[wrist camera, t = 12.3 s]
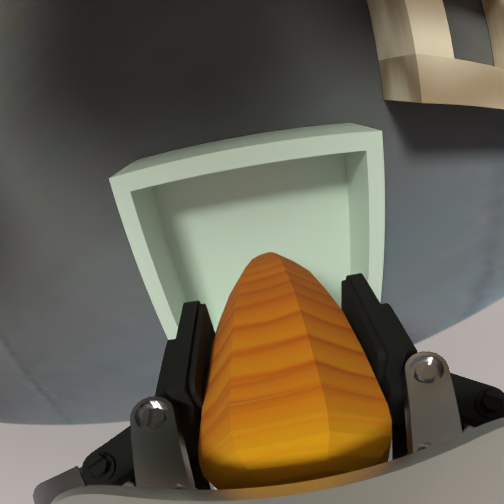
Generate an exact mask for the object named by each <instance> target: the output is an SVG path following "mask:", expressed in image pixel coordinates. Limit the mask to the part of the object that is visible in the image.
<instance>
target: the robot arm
mask: <svg viewBox="0 0 504 504" xmlns="http://www.w3.org/2000/svg"><path fill="white" fill-rule="evenodd" d="M341 309H342V311H343V313H344V314H345V316H346V318H347V320H348V322H349V324H350V326H351V328H352V330H353V331H354V333H355V335H356V337H357V339H358V341H359V343H360V345H361V347H362V349H363V351H364V353H365V355H366V357H367V359H368V361H369V364H370V366H371V368H372V370H373V372H374V375H375V377H376V379H377V381H378V384H379V386H380V388H381V390H382V393H383V395H384V397H385V400H386V402H387V404H388V408H389V411H390V415H391V419H392V440H391V446H390V453H389V461H388V462H385V463H382V464H378V465H375V466H371V467H368V468H364V469H360V470H356V471H352V472H348V473H344V474H340V475H335V476H331V477H326V478H321V479H316V480H310V481H304V482H298V483H291V484H284V485H276V486H267V487H256V488H244V489H225V490H214V486H213V485H212V484H211V483H210V482H209V481H208V480H207V479H206V478H205V477H204V476H203V474H202V471H201V467H200V464H199V457H198V443H199V434H200V424H201V415H202V406H203V400H204V390H205V382H206V376H207V369H208V363H209V357H210V351H211V345H212V342H213V339H214V336H215V331H214V328H213V325H212V322H211V318H210V315H209V312H208V309H207V306H206V304H201V303H200V301H199V300H198V301H191V302H185V303H184V304H183V307H182V312H181V316H180V321H179V325H178V330H177V335H176V339H170V340H168V341H167V344H166V348H165V353H164V357H163V361H162V366H161V370H160V375H159V380H158V384H157V389H156V394H155V396H153V397H148V398H145V399H143V400H141V401H140V402H138V403H137V404H136V405H135V407H134V408H133V410H132V412H131V415H130V426H129V427H128V428H126V429H125V430H123V431H122V432H121V433H119V434H118V435H116V436H115V437H114V438H112V439H111V440H110V441H109V442H107V443H105V444H104V445H102V446H101V447H99V448H98V449H97V450H95V451H94V452H92V453H91V454H90V455H89V456H87V458H86V459H85V461H84V462H83V466H82V467H81V468H79V467H78V466H76V467H74V468H72V469H70V470H68V471H66V472H64V473H61V474H59V475H57V476H55V477H53V478H51V479H49V480H47V481H44V482H42V483H40V484H39V485H38V486H37V487H36V488H35V490H34V494H33V498H34V502H35V504H504V393H503V392H502V391H501V390H500V389H498V388H496V387H493V386H489V385H487V384H483V383H480V382H477V381H474V380H470V379H468V378H465V377H461V376H458V375H455V374H452V373H450V371H449V367H448V365H447V363H446V361H445V360H444V359H443V358H442V357H441V356H439V355H438V354H436V353H433V352H419V353H418V352H417V350H416V348H415V346H414V345H413V343H412V341H411V340H410V338H409V336H408V334H407V333H406V331H405V329H404V328H403V326H402V324H401V323H400V321H399V319H398V318H397V316H396V314H395V313H394V311H393V309H392V308H391V306H390V305H389V304H387V303H386V304H380V302H379V300H378V299H377V297H376V295H375V294H374V292H373V290H372V289H371V287H370V285H369V284H368V282H367V280H366V279H365V277H364V276H363V274H362V273H358V274H353V275H347V276H346V280H342V282H341Z"/></svg>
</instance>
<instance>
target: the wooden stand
mask: <svg viewBox="0 0 504 504" xmlns="http://www.w3.org/2000/svg"><path fill="white" fill-rule="evenodd" d="M366 1H367V5H368V9H369V13H370V18H371V23H372V27H373V32H374V38H375V43H376V49H377V54H378V61H379V67H380V74H381V81H382V89H383V97H384V100H394V101H406V102H417V103H436V104H455V105H468V106H479V107H489V108H497V109H504V0H481V1H482V5H483V9H484V13H485V17H486V21H487V26H488V30H489V35H490V41H491V46H492V53H493V59H494V66H489V65H485V64H480V63H475V62H470V61H465V60H459V59H454V54H453V47H452V42H451V36H450V31H449V26H448V21H447V17H446V13H445V8H444V4H443V0H366Z"/></svg>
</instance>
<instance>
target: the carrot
mask: <svg viewBox="0 0 504 504" xmlns="http://www.w3.org/2000/svg"><path fill="white" fill-rule="evenodd" d="M391 440H392V419H391V415H390V411H389V408H388V404H387V402H386V400H385V397H384V395H383V393H382V390H381V388H380V386H379V384H378V381H377V379H376V377H375V375H374V372H373V370H372V368H371V366H370V364H369V361H368V359H367V357H366V355H365V353H364V351H363V349H362V347H361V345H360V343H359V341H358V339H357V337H356V335H355V333H354V331H353V330H352V328H351V326H350V324H349V322H348V320H347V318H346V316H345V314H344V313H343V311H342V309H341V308H340V307H339V305H338V304H337V303H336V302H335V300H334V299H333V298H332V296H331V295H330V294H329V293H328V291H327V290H326V289H325V288H324V286H323V285H322V284H321V283H320V282H319V281H318V280H317V279H316V278H315V277H314V275H313V274H312V273H311V272H310V271H309V270H307V269H305V268H304V267H302V266H301V265H299V264H297V263H296V262H294V261H292V260H290V259H288V258H285V257H283V256H281V255H279V254H276V253H274V252H267V253H264V254H261V255H259V256H257V257H255V258H253V259H252V260H251V261H250V262H249V264H248V265H247V266H246V267H245V269H244V271H243V272H242V274H241V276H240V278H239V279H238V281H237V283H236V284H235V286H234V288H233V290H232V291H231V293H230V295H229V298H228V300H227V303H226V305H225V308H224V310H223V313H222V315H221V318H220V321H219V324H218V327H217V330H216V333H215V336H214V339H213V342H212V345H211V351H210V357H209V363H208V369H207V376H206V382H205V390H204V400H203V406H202V415H201V424H200V434H199V443H198V457H199V464H200V467H201V471H202V474H203V476H204V477H205V478H206V479H207V480H208V481H209V482H210V483H211V484H212V485H213V486H214V487H216V488H217V489H218V490H225V489H244V488H256V487H267V486H276V485H284V484H291V483H298V482H304V481H310V480H316V479H321V478H326V477H331V476H335V475H340V474H344V473H348V472H352V471H356V470H360V469H364V468H368V467H371V466H375V465H378V464H382V463H385V462H388V459H389V453H390V446H391Z"/></svg>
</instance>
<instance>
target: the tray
mask: <svg viewBox="0 0 504 504" xmlns="http://www.w3.org/2000/svg"><path fill="white" fill-rule="evenodd" d="M109 181H110V184H111V187H112V191H113V194H114V197H115V201H116V204H117V207H118V210H119V213H120V216H121V219H122V222H123V225H124V228H125V231H126V234H127V237H128V240H129V243H130V246H131V249H132V251H133V254H134V257H135V260H136V262H137V265H138V268H139V270H140V273H141V275H142V278H143V281H144V283H145V286H146V288H147V291H148V293H149V296H150V298H151V301H152V303H153V305H154V308H155V310H156V313H157V315H158V317H159V320H160V322H161V324H162V326H163V329H164V331H165V333H166V335H167V338H168V340H170V339H176V335H177V330H178V325H179V321H180V316H181V312H182V307H183V304H184V303H185V302H191V301H198V300H199V301H200V303H201V304H206V306H207V309H208V312H209V315H210V318H211V322H212V325H213V328H214V331H215V333H216V330H217V327H218V324H219V321H220V318H221V315H222V313H223V310H224V308H225V305H226V303H227V300H228V298H229V295H230V293H231V291H232V290H233V288H234V286H235V284H236V283H237V281H238V279H239V278H240V276H241V274H242V272H243V271H244V269H245V267H246V266H247V265H248V264H249V262H250V261H251V260H252V259H253V258H255V257H257V256H259V255H261V254H264V253H267V252H274V253H276V254H279V255H281V256H283V257H285V258H288V259H290V260H292V261H294V262H296V263H297V264H299V265H301V266H302V267H304V268H305V269H307V270H309V271H310V272H311V273H312V274H313V275H314V277H315V278H316V279H317V280H318V281H319V282H320V283H321V284H322V285H323V286H324V288H325V289H326V290H327V291H328V293H329V294H330V295H331V296H332V298H333V299H334V300H335V302H336V303H337V304H338V305H339V307H340V308H341V282H342V280H346V276H347V275H353V274H358V273H362V274H363V276H364V277H365V279H366V280H367V282H368V284H369V285H370V287H371V289H372V290H373V292H374V294H375V295H376V297H377V299H378V300H379V302H381V290H382V277H383V260H384V234H385V182H384V156H383V140H382V131H381V130H377V129H373V128H370V127H366V126H362V125H358V124H354V123H339V124H328V125H318V126H309V127H301V128H293V129H285V130H278V131H271V132H265V133H258V134H252V135H246V136H241V137H235V138H230V139H224V140H219V141H214V142H209V143H204V144H200V145H195V146H191V147H186V148H182V149H177V150H173V151H169V152H165V153H161V154H157V155H153V156H149V157H145V158H142V159H138V160H136V161H134V162H132V163H131V164H129V165H128V166H126V167H125V168H123V169H122V170H120V171H119V172H117V173H116V174H115V175H113V176H112V177H110V178H109Z"/></svg>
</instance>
